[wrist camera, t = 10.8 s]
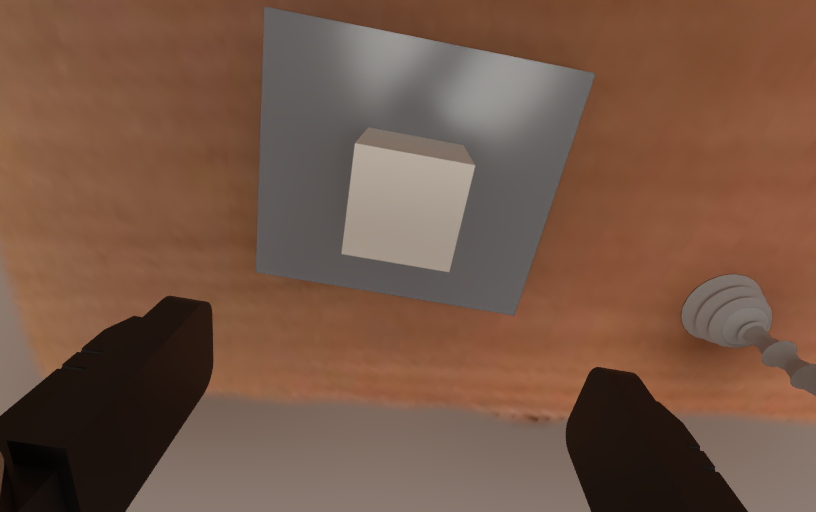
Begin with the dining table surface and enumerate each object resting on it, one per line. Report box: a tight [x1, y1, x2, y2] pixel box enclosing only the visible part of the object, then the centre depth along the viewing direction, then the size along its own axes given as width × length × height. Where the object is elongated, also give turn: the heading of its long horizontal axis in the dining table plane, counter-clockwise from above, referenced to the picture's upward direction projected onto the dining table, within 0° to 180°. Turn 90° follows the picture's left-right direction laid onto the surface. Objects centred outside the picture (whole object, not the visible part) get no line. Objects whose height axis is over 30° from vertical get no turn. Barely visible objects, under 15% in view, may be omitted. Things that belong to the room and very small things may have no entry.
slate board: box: [256, 7, 596, 315], centre depth 24 cm, size 16×14×2 cm
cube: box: [341, 127, 475, 272], centre depth 20 cm, size 5×5×5 cm
